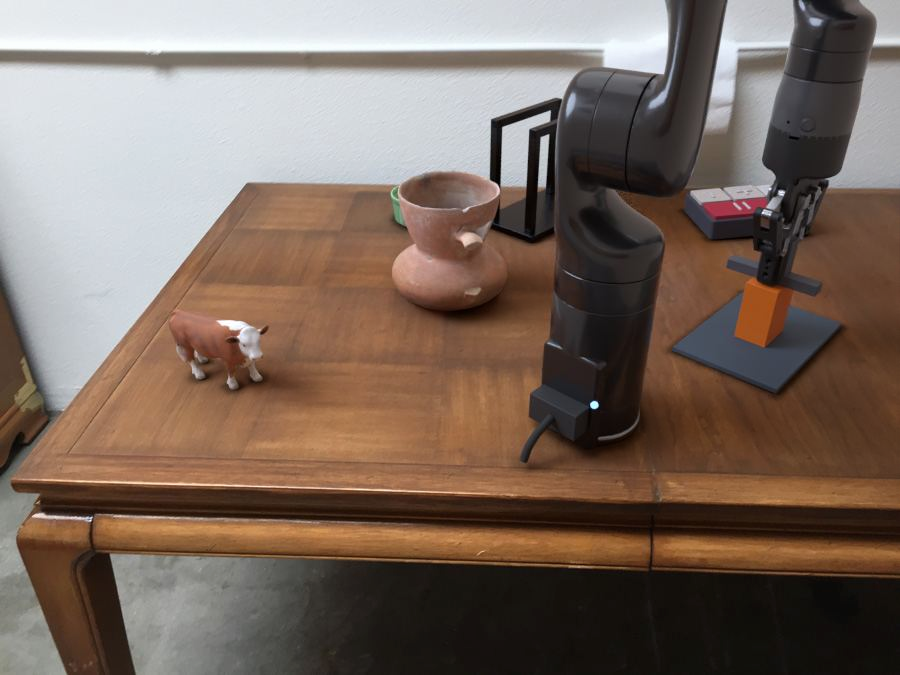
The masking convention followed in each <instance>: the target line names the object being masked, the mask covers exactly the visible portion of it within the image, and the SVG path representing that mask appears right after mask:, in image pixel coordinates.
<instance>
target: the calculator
mask: <svg viewBox="0 0 900 675" xmlns="http://www.w3.org/2000/svg"><path fill="white" fill-rule="evenodd" d="M771 185H773V183H772V184H771V183H770V184H762V185H761V184H760V185H756V186H755V185H754V184H749V185H736V186H727V187H726V186H725V187H723V189H721V188H720V187H716V188H707V189H706V188H704V189H694V190H690V192H688V193H686V194H685V200H684V201H685V202H684V203H685V204H684V208H683V209H684V213H685V214H686V215H687V216H688V218H690V220H692V222H693V223H694V224H695V225H696V226H697V227H698V228H699V229H700V230H701V231H702V233H703V234H704V235H705V236H706V238H708V240H712V241H713V240H714V241H715V240H724V239H725V240H727V239H736V238H745V237H746V238H747V237H753V214H754V210H755V209H756V208H757V207H762V208H766V206H767V201H766V197H767V194H768V190H769V188H770V186H771ZM808 234H810V231H809V232H808V233H804V236H806V235H808Z"/></svg>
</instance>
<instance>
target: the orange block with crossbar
mask: <svg viewBox="0 0 900 675" xmlns="http://www.w3.org/2000/svg"><path fill="white" fill-rule="evenodd" d="M799 239H800V237H796V236H791V239H790V242H789V245H788V249H787V253H786V254H785V259H784V263H783V267H782V271H781V275H780V279H779V282H778V284H776V285H775V286H773V287H771V286H768V285H765V284H762V283H759V282H758V281H757V279H756V277H757V273H758V269H759V264H760V260H761V256H762V252H760V255H759V259H758V261H757V260H754V259H751V258H747V257H745V256H741V255H738V254H735V253H734V254H732V255H731V256H730V257H728V258H727V262H726V267H725V268H726V269H728V270H731V271H735V272H737V273H740V274H742V275H743V274H744V275H746V276H749V277H751V278H750V279H749V280H747V281H746V282H745V287H744V290H743V291H744V295H743V299H742V304H741V308H740V313H739V317H738V321H737V326H736V330H735V335H734V336H735V337H737V338H740V339H742V340H745V341H748V342H750V343H753V344H756V345H758V346H761V347H764V348H765V347H766V346H767V345H768V344H769V343H770V342H771V341H772V340H773V339H774V338H775V337H776V336H777V335H779V334H780V333H781V332H782V331H783V328H784V324H785V320H786V317H787V313H788V309H789V305H790V306H791V302H792V298H793V294H794V291H796V292H798V293H801V294H805V295H808V296H810V297H814V298H815V297H816V296H817V295H818V294H820V293H821V291H822V288H823V281H821V280H819V279H814V278H812V277H809V276H805V275H802V274H800V273H799V274H798V273H795V272H792V270H793V267H794V262H795V259H796V255H797V251H798V247H799V244H798V243H799Z"/></svg>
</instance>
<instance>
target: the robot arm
mask: <svg viewBox="0 0 900 675" xmlns="http://www.w3.org/2000/svg"><path fill="white" fill-rule="evenodd" d="M728 2H729V0H664V4H665V9H666V15H667V17H666V18H667V50H666V51H667V52H666V62H665V66H664V71H663V73H656V72H647V71H641V70H640V71H639V70H633V69H632V70H631V69H623V68H616V67H610V66H609V67H608V66H598V65H597V66H596V65H595V66H588V67H585V68H582V69H580V70H579V71H578V72H577V73H576V74H575V75H574V76H573V77H572V79H571V80H570V81H569V83H568V85H567V87H566V90H565V92H564V94H563V96H562V98H561V99H562V103H561V107H560V111H559V115H558V123H557V131H556V148H555V209H554V232H553V233H554V239H555V259H554V273H553V287H552V298H551V311H550V324H549V338H548V339H547V340H546V341H545V342H544V344H543V355H542V366H541V384H540V385H539V387H537V388H536V389H534V390H533V391H531V392H530V393H529V400H528V404H529V405H528V418H529V419H531V420H533V421H535V422H537V423H539V424H538V425H537V426H536V427H535V429H534V430H533V431H532V433H531V434H530V435H529V437H528V438H527V440H526V442H525V444H524V446H523V448H522V451H521V454H520V456H519V459H518V460H519V461H520V462H521V463H524V464H528V462H529V459H530V457H531V454H532V451H533V449H534V447H535V445H536V444H537V442H538V441H539V439H540V438H541V437H542V435H543V434H544V433H545V432H546V431H547V430H548V429H550V430H551V431H553V432H555V433H557V434H558V435H560V436H562V437H564V438H566V439H568V440H570V441H572V442H574V443H576V444H578V445H579V446H581V447H583V448H585V449H587V450H592V449H594V448H595V447H596V446H599V445H608V444H614V443H617V442H620V441H623V440H625V439H627V438H628V437H630V436H631V435H632V434H634V432H635V431H636V430H637V428H638V426H639V422H640V416H641V410H640V409H641V402H642V396H643V389H644V383H645V377H646V370H647V364H648V358H649V350H650V346H651V338H652V332H653V326H654V320H655V313H656V306H657V302H658V294H659V288H660V284H661V275H662V271H663V263H664V256H665V250H666V240H665V236H664V233H663V231H662V230H661V229H660V227H659V226H658V225H657V224H656V223H655V222H654V221H652V220H651V219H649V217H646V216H645V215H644V214H641V213H640V212H638V211H637V210H635V208H633V207H632V206H630V205H629V204H628V203H627V202H626V201H625V200H624V199H623V198H622V197H621V196H620V195H619V194H618V192H622V193H623V192H624V193H628V194H634V195H640V196H644V197H650V198H654V199H662V200H663V199H664V200H669V199H670V200H671V199H673V198H676V197H677V196H678V195H680V194H681V193H682V192H683V191H684V190H685V188H686V187H687V186H688V184H689V182H690V180H691V178H692V175H693V174H694V171H695V169H696V166H697V163H698V160H699V156H700V152H701V149H702V144H703V141H704V136H705V131H706V126H707V121H708V116H709V110H710V105H711V99H712V94H713V87H714V81H715V77H716V70H717V65H718V59H719V53H720V47H721V42H722V41H721V40H722V35H723V30H724V24H725V19H726V12H727V7H728ZM792 10H793V11H792V12H793V28H792V33H791V37H790V42H789V45H788V50H787V54H786V59H785V63H784V67H783V72H782V76H781V79H780V82H779V85H778V88H777V91H776V94H775V97H774V101H773V105H772V110H771V114H770V118H769V119H770V120H769V123H768V129H767V133H766V138H765V143H764V147H763V150H762V151H763V152H762V157H761V162H762V164H763V166H764V167H765V169H767V170H768V171H770V172H772V174H773V175H774V176H775V179H774V180H773V183H772V184H773V185H771V184H770V185H771V186H770V188H769V190H768V194H767V197H766V201H767V206H766V208H762V207H757V208H756V209H755V210H754V214H753V236H752V237H753V240H752V241H753V242H752V243H753V251H755V252H760V253H761V252H762V256H761V260H760V264H759V269H758V273H757V277H756V279H757V281H758V282H759V283H762V284H765V285H768V286H771V287H773V286H775V285H776V284H778V282H779V279H780V275H781V271H782V267H783V263H784V259H785V254H786V253H787V249H788V245H789V242H790V239H791V236H796V237H800V239H799V243H798V245H800V244H801V243H802V242H803V241H804V236H805V235H804V233H808V232H809V233H810V232H811V230H812V226H813V224H814V221H815V219H816V216H817V214H818V211H819V209H820V206H821V204H822V202H823V199H824V196H825V194H826V191H827V189H828V188H829V185H830V180H829V179H831V178H833V177H836V176H837V175H839V173H840V172H841V171H842V169H843V165H844V162H845V158H846V155H847V153H848V152H847V151H848V147H849V144H850V141H851V137H852V134H853V129H854V126H855V122H856V120H857V119H856V118H857V115H858V111H859V108H860V105H861V104H860V103H861V100H862V99H861V98H862V90H863V85H864V79H865V75H866V72H867V67H868V65H869V61H870V57H871V53H872V50H873V46H874V42H875V37H876V34H877V27H878V20H877V17H876V15H875V14H874V13H873V12H872V11H871V10H870V9H869V8H868V7H866V6H865V5H864V4H863V3H862V2H861V0H792ZM617 191H618V192H617Z"/></svg>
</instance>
